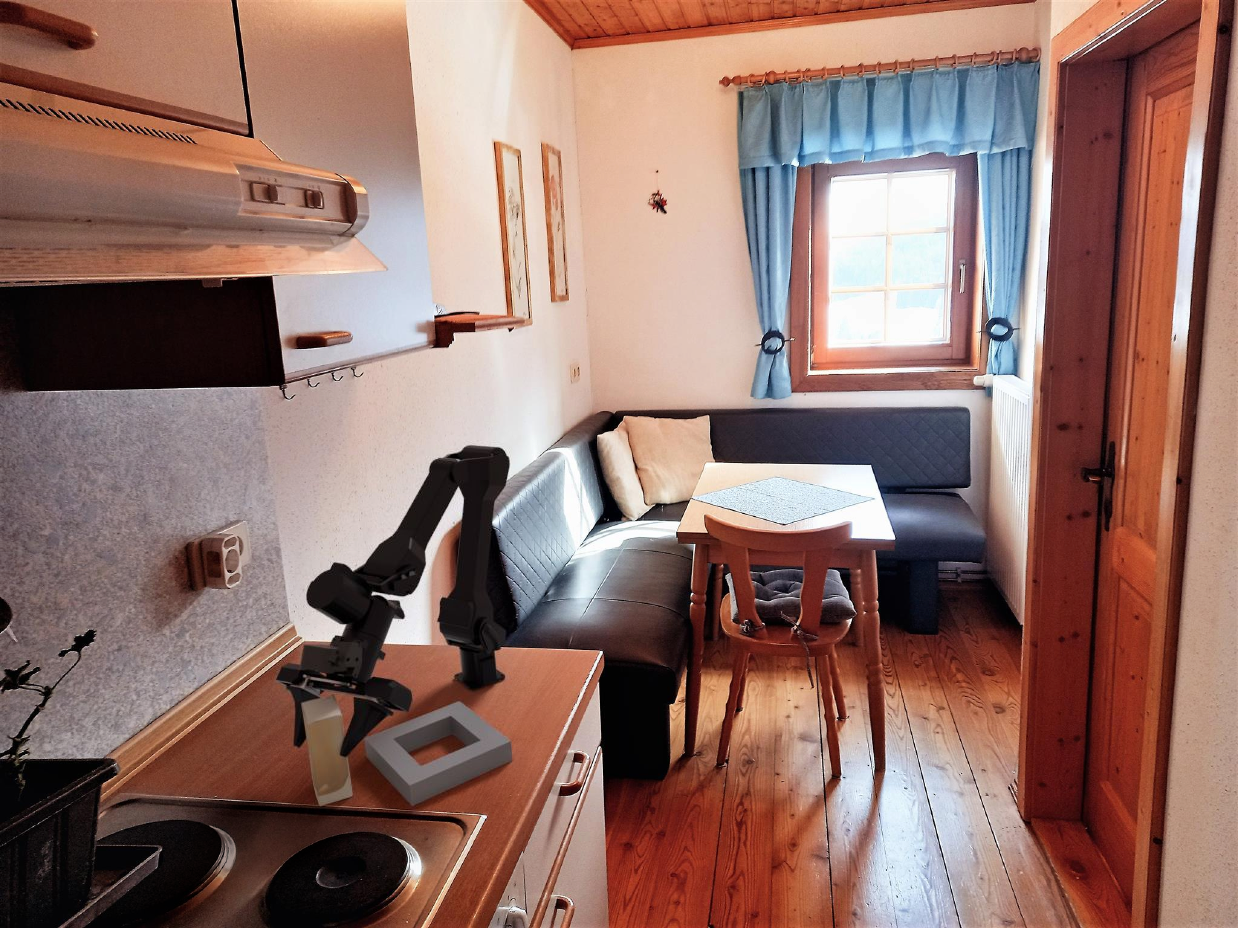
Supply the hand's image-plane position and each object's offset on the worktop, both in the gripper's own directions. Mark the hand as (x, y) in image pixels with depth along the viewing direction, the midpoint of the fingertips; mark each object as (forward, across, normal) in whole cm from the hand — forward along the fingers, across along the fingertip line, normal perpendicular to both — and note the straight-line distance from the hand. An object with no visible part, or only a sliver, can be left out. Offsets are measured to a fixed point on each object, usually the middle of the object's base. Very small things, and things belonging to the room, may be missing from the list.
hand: (319, 751), depth 108 cm
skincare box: (+4, 0, +6) cm, 7 cm away
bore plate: (-4, +10, +13) cm, 17 cm away
